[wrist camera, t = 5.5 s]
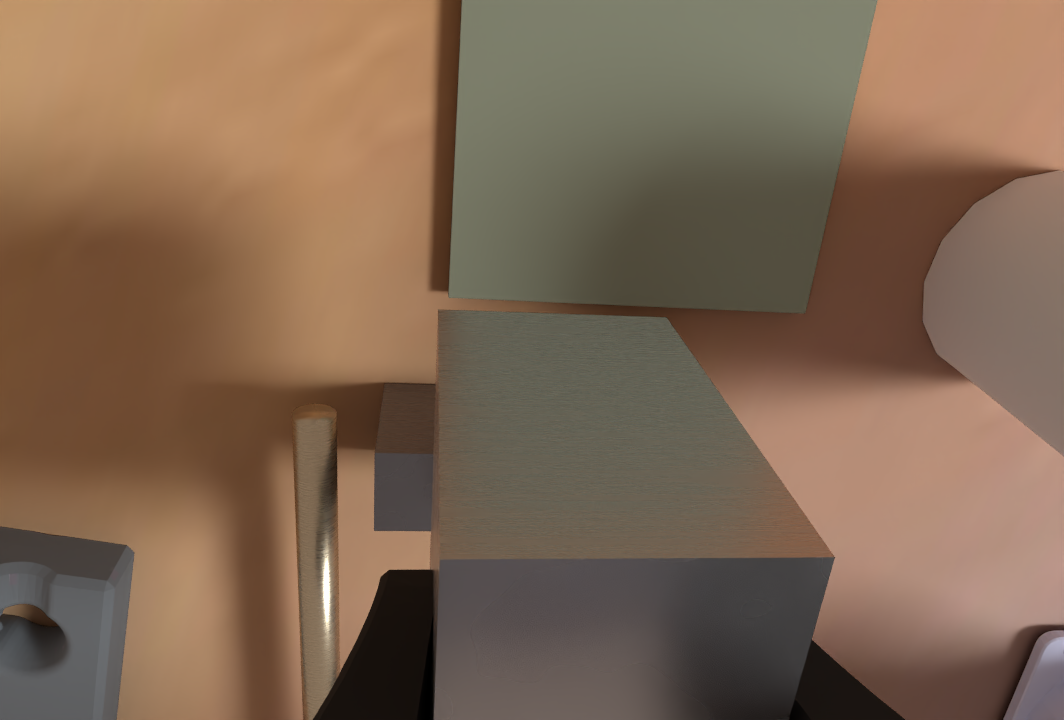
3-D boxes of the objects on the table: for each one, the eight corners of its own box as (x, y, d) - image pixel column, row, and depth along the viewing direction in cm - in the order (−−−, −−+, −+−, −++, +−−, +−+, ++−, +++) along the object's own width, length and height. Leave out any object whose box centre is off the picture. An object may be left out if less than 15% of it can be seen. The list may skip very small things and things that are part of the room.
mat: (941, -320, 16) (953, -328, 15) (798, 308, 21) (805, 313, 21) (479, -392, 15) (480, -402, 14) (448, 292, 20) (448, 297, 19)
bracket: (-32, 803, 25) (-70, 870, 23) (-28, 510, 21) (-74, 561, 19) (111, 814, 26) (86, 879, 24) (141, 535, 22) (114, 586, 20)
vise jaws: (689, 392, 22) (733, 460, 18) (615, 811, 28) (637, 915, 25) (303, 380, 20) (278, 451, 17) (317, 822, 27) (300, 933, 23)
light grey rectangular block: (666, 317, 13) (835, 557, 7) (607, 691, 16) (694, 1048, 11) (438, 309, 12) (440, 559, 7) (425, 697, 16) (420, 1071, 10)
